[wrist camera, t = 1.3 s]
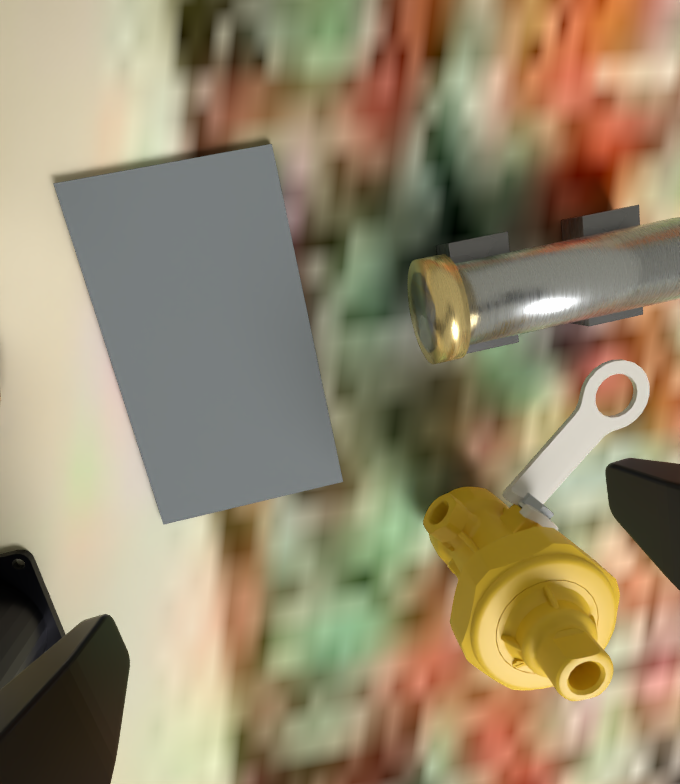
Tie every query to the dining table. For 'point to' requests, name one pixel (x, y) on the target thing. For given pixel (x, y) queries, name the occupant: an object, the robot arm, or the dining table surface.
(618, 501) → the robot arm
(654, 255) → the shaft
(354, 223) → the dining table surface
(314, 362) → the seat mat
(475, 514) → the pressure relief valve
